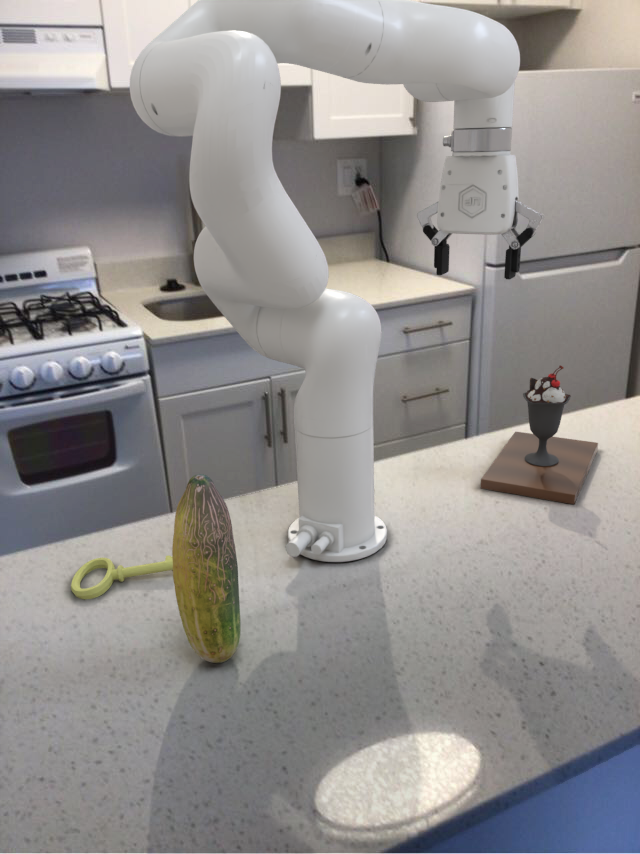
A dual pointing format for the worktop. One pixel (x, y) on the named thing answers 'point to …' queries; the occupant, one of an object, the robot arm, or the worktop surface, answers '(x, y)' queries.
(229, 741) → the worktop surface
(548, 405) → the sundae
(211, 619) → the vegetable
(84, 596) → the key
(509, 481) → the serving board
